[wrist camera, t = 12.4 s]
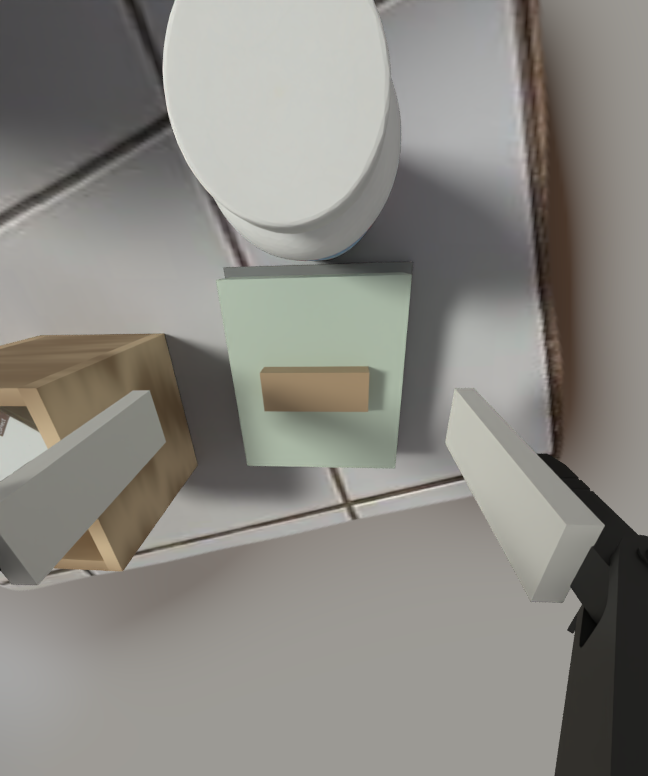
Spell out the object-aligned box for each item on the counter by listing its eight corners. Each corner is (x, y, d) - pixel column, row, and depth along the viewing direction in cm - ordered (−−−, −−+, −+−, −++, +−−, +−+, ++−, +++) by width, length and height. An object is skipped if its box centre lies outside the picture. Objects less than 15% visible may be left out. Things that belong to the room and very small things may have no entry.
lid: (232, 277, 17) (207, 281, 14) (402, 272, 17) (416, 275, 14) (257, 444, 22) (242, 475, 19) (389, 446, 22) (397, 478, 18)
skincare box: (146, 453, 24) (69, 530, 17) (74, 413, 23) (-40, 479, 16) (176, 400, 22) (100, 465, 15) (97, 352, 20) (-24, 399, 14)
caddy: (40, 335, 20) (-165, 388, 12) (164, 333, 20) (36, 388, 12) (95, 463, 25) (-28, 564, 17) (197, 464, 24) (122, 571, 16)
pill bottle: (396, 215, 16) (487, 144, 6) (306, 280, 18) (256, 314, 8) (336, 97, 14) (316, -307, 4) (242, 182, 16) (61, 51, 6)
